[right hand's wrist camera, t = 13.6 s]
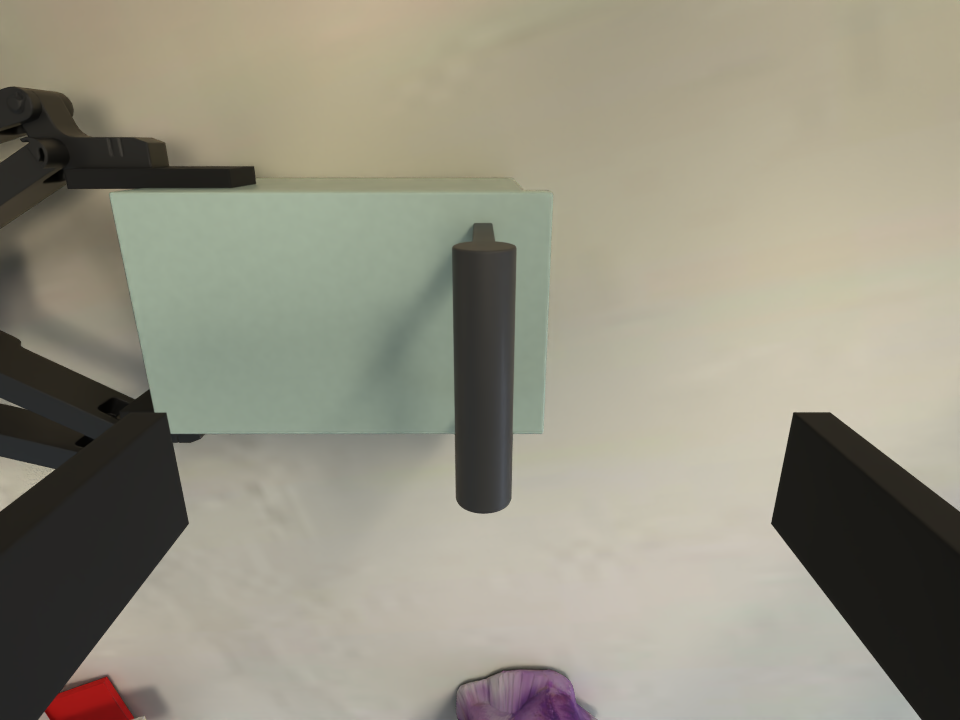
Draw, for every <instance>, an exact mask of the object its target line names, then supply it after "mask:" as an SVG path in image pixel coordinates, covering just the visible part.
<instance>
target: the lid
mask: <svg viewBox="0 0 960 720" xmlns="http://www.w3.org/2000/svg"><path fill="white" fill-rule="evenodd" d="M109 196H110V201H111V206H112V211H113V216H114V220H115V225H116V230H117V235H118V240H119V244H120V249H121V254H122V259H123V264H124V268H125V273H126V278H127V283H128V288H129V292H130V297H131V302H132V307H133V312H134V316H135V321H136V326H137V331H138V336H139V340H140V345H141V350H142V355H143V360H144V364H145V369H146V374H147V379H148V384H149V388H150V393H151V398H152V403H153V408H154V412H167V417H168V422H169V427H170V432H171V434H455V470H456V500H457V502H458V504H459V505H460V506H461V507H462V508H464V509H465V510H468V511H470V512H474V513H482V514H485V513H494V512H497V511H500V510H502V509H504V508H505V507H506V506H508V504H509V503H510V501H511V489H512V442H513V434H542V433H543V429H544V404H545V380H546V356H547V332H548V307H549V283H550V259H551V235H552V210H553V193H552V192H550V191H548V190H124V191H116V192H111V193H109Z"/></svg>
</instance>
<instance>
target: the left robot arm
mask: <svg viewBox="0 0 960 720" xmlns="http://www.w3.org/2000/svg"><path fill="white" fill-rule="evenodd" d="M73 111H74V109H73V106H72V103H71V101H70V100H69V99H68V97H66V96H65V95H64V94H62V93H59V92H53V91H45V90H37V89H29V88H21V87H7V88H4V89H1V90H0V143H3V142H7V141H10V140H13V139H16V138H19V137H22V136H25V135H28V137H25V138H22V139H20V140H21V141H22V142H29V143H28V144H27V145H26V146H24V147H23V148H21V149H20V150H18V151H17V152H16V153H14V154H13V155H11V156H10V157H8V158H7V159H5V160H4V161H3V162H1V163H0V228H2V227H3V226H5V225H6V224H8V223H9V222H11V221H12V220H14V219H15V218H17V217H18V216H20V215H21V214H23V213H24V212H26V211H27V210H29V209H30V208H32V207H33V206H35V205H36V204H38V203H39V202H41V201H42V200H44V199H45V198H47V197H48V196H49V195H51V194H52V193H54V192H55V191H57V190H58V189H60V188H61V187H63V186H64V185H66V184H67V187H68V189H140V188H235V187H241V186H247V185H253V184H256V178H255V170H254V166H169V162H168V157H167V151H166V145H165V143H164V142H162V141H159V140H157V139H154V138H137V137H90V136H88V135H86V134H84V133H83V132H82V131H81V130H80V129H79V128H78V126H77V125H76V123H75V122H74V120H73V118H72V116H73ZM0 398H2V399H5V400H7V401H9V402H11V403H14V404H16V405H18V406H20V407H23V408H25V409H22V408H18V407H14V406H9V405H5V404H0V456H1V457H6V458H10V459H14V460H19V461H23V462H27V463H32V464H36V465H40V466H45V467H49V468H53V469H57V468H58V467H59V466H61V465H62V464H63V463H65V462H66V461H67V460H69V459H70V458H71V457H72V456H74V455H75V454H76V453H78V452H79V451H80V450H82V449H83V448H84V447H85V446H87V445H88V444H89V443H91V442H92V441H93V440H95V439H96V438H97V437H99V436H100V435H101V434H102V433H104V432H105V431H106V430H108V429H109V428H110V427H112V426H113V425H114V424H116V423H117V422H118V421H119V420H121V419H122V418H123V417H125V416H126V415H127V414H129V413H130V412H154V408H153V403H152V398H151V393H150V389H149V390H148V391H146V392H145V393H144V394H142V395H141V396H140V397H138V398H137V399H133V398H130V397H128V396H126V395H124V394H122V393H120V392H117V391H115V390H113V389H111V388H109V387H107V386H105V385H102V384H100V383H98V382H96V381H94V380H92V379H89V378H87V377H85V376H83V375H81V374H79V373H76V372H74V371H72V370H70V369H68V368H66V367H63V366H61V365H59V364H57V363H55V362H53V361H51V360H48V359H46V358H44V357H42V356H40V355H38V354H35V353H33V352H31V351H29V350H27V349H25V348H23V347H22V346H21V341H20V340H19V339H17V338H16V337H13V336H11V335H9V334H7V333H5V332H3V331H0ZM26 409H27V410H26ZM204 435H205V434H171V437H172V442H173V443H177V442H179V443H191V442H194V441H196V440H199V439H201V438H202V437H203V436H204Z"/></svg>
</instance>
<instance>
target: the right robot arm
mask: <svg viewBox="0 0 960 720" xmlns="http://www.w3.org/2000/svg"><path fill="white" fill-rule="evenodd" d="M188 524H189V522H188V517H187V512H186V507H185V502H184V497H183V492H182V487H181V482H180V477H179V472H178V467H177V462H176V457H175V452H174V447H173V442H172V437H171V432H170V427H169V422H168V417H167V412H130V413H129V414H127V415H126V416H125V417H123V418H122V419H121V420H119V421H118V422H117V423H116V424H114V425H113V426H112V427H110V428H109V429H108V430H106V431H105V432H104V433H102V434H101V435H100V436H99V437H97V438H96V439H95V440H93V441H92V442H91V443H89V444H88V445H87V446H85V447H84V448H83V449H82V450H80V451H79V452H78V453H76V454H75V455H74V456H72V457H71V458H70V459H69V460H67V461H66V462H65V463H63V464H62V465H61V466H59V467H58V468H57V469H55V470H54V471H53V472H52V473H50V474H49V475H48V476H46V477H45V478H44V479H42V480H41V481H40V482H38V483H37V484H36V485H35V486H33V487H32V488H31V489H29V490H28V491H27V492H25V493H24V494H23V495H21V496H20V497H19V498H18V499H16V500H15V501H14V502H12V503H11V504H10V505H8V506H7V507H6V508H5V509H3V510H2V511H1V512H0V720H38V719H39V718H40V717H41V716H42V714H43V713H44V712H45V710H46V709H47V708H48V706H49V705H50V704H51V702H52V701H53V700H54V699H55V697H56V696H57V695H58V693H59V692H60V691H61V689H62V688H63V687H64V686H65V684H66V683H67V682H68V680H69V679H70V678H71V676H72V675H73V674H74V673H75V671H76V670H77V669H78V667H79V666H80V665H81V663H82V662H83V661H84V660H85V658H86V657H87V656H88V654H89V653H90V652H91V650H92V649H93V648H94V646H95V645H96V644H97V643H98V641H99V640H100V639H101V637H102V636H103V635H104V633H105V632H106V631H107V630H108V628H109V627H110V626H111V624H112V623H113V622H114V620H115V619H116V618H117V617H118V615H119V614H120V613H121V611H122V610H123V609H124V607H125V606H126V605H127V604H128V602H129V601H130V600H131V598H132V597H133V596H134V594H135V593H136V592H137V590H138V589H139V588H140V587H141V585H142V584H143V583H144V581H145V580H146V579H147V577H148V576H149V575H150V574H151V572H152V571H153V570H154V568H155V567H156V566H157V564H158V563H159V562H160V561H161V559H162V558H163V557H164V555H165V554H166V553H167V551H168V550H169V549H170V548H171V546H172V545H173V544H174V542H175V541H176V540H177V538H178V537H179V536H180V535H181V533H182V532H183V531H184V529H185V528H186V527H187V525H188ZM771 524H772V525H773V527H774V528H775V529H776V531H777V532H778V533H779V535H780V536H781V537H782V538H783V540H784V541H785V542H786V544H787V545H788V546H789V548H790V549H791V550H792V551H793V553H794V554H795V555H796V557H797V558H798V559H799V561H800V562H801V563H802V564H803V566H804V567H805V568H806V570H807V571H808V572H809V574H810V575H811V576H812V577H813V579H814V580H815V581H816V583H817V584H818V585H819V587H820V588H821V589H822V590H823V592H824V593H825V594H826V596H827V597H828V598H829V600H830V601H831V602H832V604H833V605H834V606H835V607H836V609H837V610H838V611H839V613H840V614H841V615H842V617H843V618H844V619H845V620H846V622H847V623H848V624H849V626H850V627H851V628H852V630H853V631H854V632H855V633H856V635H857V636H858V637H859V639H860V640H861V641H862V643H863V644H864V645H865V646H866V648H867V649H868V650H869V652H870V653H871V654H872V656H873V657H874V658H875V660H876V661H877V662H878V663H879V665H880V666H881V667H882V669H883V670H884V671H885V673H886V674H887V675H888V676H889V678H890V679H891V680H892V682H893V683H894V684H895V686H896V687H897V688H898V689H899V691H900V692H901V693H902V695H903V696H904V697H905V699H906V700H907V701H908V702H909V704H910V705H911V706H912V708H913V709H914V710H915V712H916V713H917V714H918V716H919V717H920V718H921V719H922V720H960V512H959V511H958V510H957V509H955V508H954V507H953V506H952V505H950V504H949V503H948V502H946V501H945V500H944V499H942V498H941V497H940V496H939V495H937V494H936V493H935V492H933V491H932V490H931V489H929V488H928V487H927V486H925V485H924V484H923V483H922V482H920V481H919V480H918V479H916V478H915V477H914V476H912V475H911V474H910V473H908V472H907V471H906V470H905V469H903V468H902V467H901V466H899V465H898V464H897V463H895V462H894V461H893V460H891V459H890V458H889V457H888V456H886V455H885V454H884V453H882V452H881V451H880V450H878V449H877V448H876V447H875V446H873V445H872V444H871V443H869V442H868V441H867V440H865V439H864V438H863V437H861V436H860V435H859V434H858V433H856V432H855V431H854V430H852V429H851V428H850V427H848V426H847V425H846V424H844V423H843V422H842V421H841V420H839V419H838V418H837V417H835V416H834V415H833V414H831V413H830V412H793V417H792V422H791V427H790V432H789V437H788V442H787V447H786V452H785V457H784V462H783V467H782V472H781V477H780V482H779V487H778V492H777V497H776V502H775V507H774V512H773V517H772V522H771Z"/></svg>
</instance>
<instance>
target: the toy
mask: <svg viewBox="0 0 960 720" xmlns="http://www.w3.org/2000/svg"><path fill="white" fill-rule="evenodd" d="M38 720H147V719H146V718H145V716H142V717H138V718H134V717H133V715H132V714H131V712H130V711H129V709H128V708H127V706H126V705H125V703H124V702H123V700H122V699H121V697H120V696H119V694H118V693H117V691H116V690H115V688H114V687H113V685H112V684H111V682H110V681H109V679H108V678H107V677H105V678H102V679H99V680H96V681H93V682H90V683H87V684H85V685H82V686H79V687H76V688H73V689H70V690H67V691H64V692H62V693H59V694H58V695H57V696H56V697H55V699H54V700H53V701H52V702H51V704H50V705H49V706H48V708H47V709H46V710H45V712H44V713H43V714H42V716H41V717H40V718H39V719H38Z"/></svg>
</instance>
